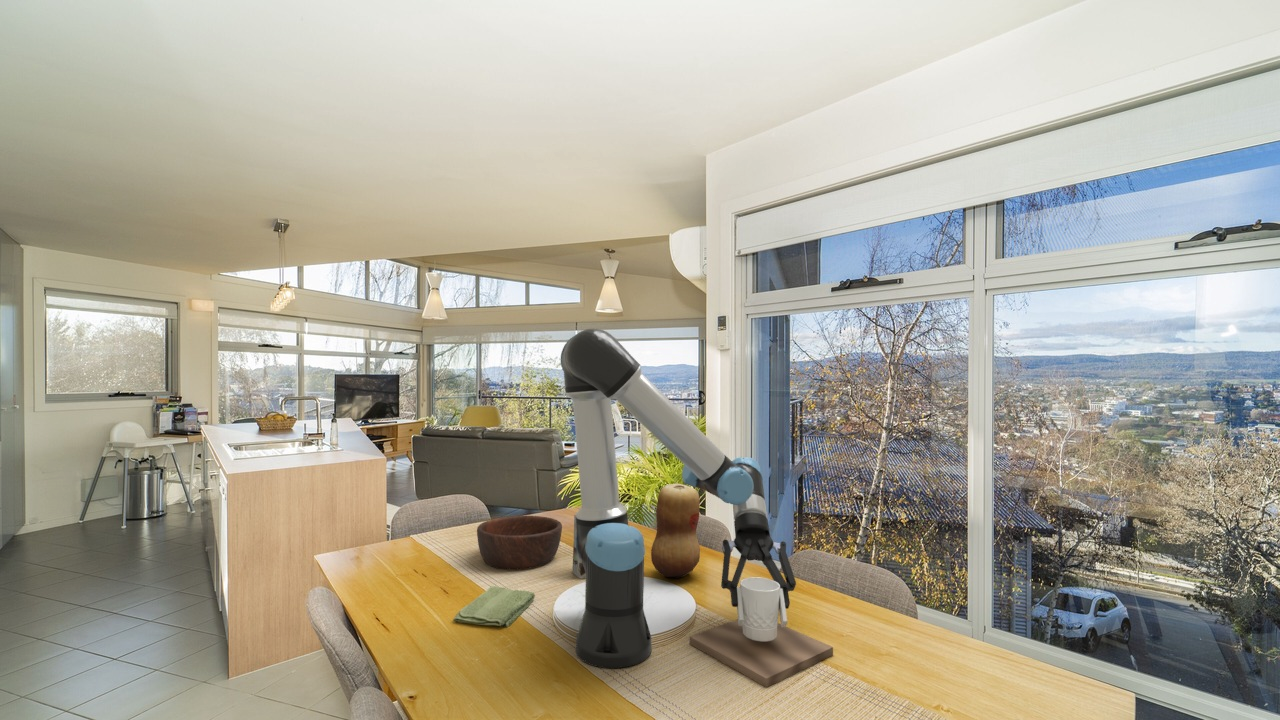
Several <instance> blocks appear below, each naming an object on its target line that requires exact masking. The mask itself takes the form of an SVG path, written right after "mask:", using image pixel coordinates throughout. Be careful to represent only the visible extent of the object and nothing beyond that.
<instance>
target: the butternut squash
mask: <svg viewBox="0 0 1280 720" xmlns="http://www.w3.org/2000/svg"><path fill="white" fill-rule="evenodd" d="M700 502H701V500H700V495H699V491H698V490H696V489H695V488H694V487H693V486H690V485H687V484H681V483H670V484H666V485H664V486H662V487H661V489H660V491H659V494H658V496H657V503H656V510H655V515H656V516H655V518H656V534H655V538H654V540H653V542H652V546H651V550H650V551H651V552H650V557H651V558H650V559H651V563H652V565H653V567H654V569H655V570H656V571H657V572H658V573H659V574H660V575H662V576H664V577H666V578H680V579H681V578H684V577H685V576H687V575H688V574H690V573H691V572H693V570H694V569H695V568H696V566H697V565H698V563H699V562H700V558H701V548H700V547H701V546H700V544H699V540H698V537H697V529H698V524H699V519H700V504H701V503H700Z"/></svg>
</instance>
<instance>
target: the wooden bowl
mask: <svg viewBox="0 0 1280 720" xmlns="http://www.w3.org/2000/svg"><path fill="white" fill-rule="evenodd" d="M562 530H563V525H562V522H561V521H559V520H557V519H555V518H551V517H547V516H539V515H513V516H511V515H510V516H503V517H502V516H501V517H497V518H493V519H489V520H487V521H484V522H482V523H480V524H479V525H478V526H477V528H476V536H477V543H478V544H477V545H478V549H479V553H480V555H481V557H482V560H483V561H484V563H486V564H487V565H488V566H490V567H492V568H495V569H500V570H509V571H510V570H527V569H528V570H529V569H533V568H538V567H541V566H544V565H547V564H548V563H550V562H551V561H552V560H553V559H554V557H555V556H556V554H557V551H558V549H559V546H560V542H561V538H562Z"/></svg>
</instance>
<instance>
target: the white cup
mask: <svg viewBox="0 0 1280 720" xmlns="http://www.w3.org/2000/svg"><path fill="white" fill-rule="evenodd" d="M739 587H740V588H741V594H742V606H743V617H744V621H743V634H744V635H745V636H746V637H747V638H749V639H752V640H756V641H763V642H764V641H771V640H774V639H775V638H776V637H777V623H779V617H780V613H779V599H780V585H779V583H777V582H776V581H774V580H773V579H770V578H766V577H759V576H758V577H757V576H753V577H752V576H750V577H746V578H743V579H741V580H739Z"/></svg>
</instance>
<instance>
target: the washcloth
mask: <svg viewBox="0 0 1280 720" xmlns="http://www.w3.org/2000/svg"><path fill="white" fill-rule="evenodd" d="M535 596H536V594H535V592H533V591H530V590H521V589H520V590H519V589H508V588H506V587H501V586H495V585H494V586H493V585H492V586H490V587H489V588H487V590H485V591H484V592H483V593H481V594H480V595H479V596H477V597H476V598H474V600H472V601H471V602H469V603H468V604H467V605H465V606H463V607H462V608H461V609H460V610H459V611H458V612H457V613H456V615H455V616H454V618H453V621H454V622H457V623H458V624H459V623H461V624H471V625H477V626H478V625H480V626H496V627H502V628H503V627H504V628H509V627H511V625H512V624H513V623H514V621H516V620H517V619H518V618H519V617H520V616H521V615H522V614H523V613H524V612H525V611H526V609H528V608H529V606H530V605H531V604H532V603H533V602H534V599H535V598H536V597H535Z"/></svg>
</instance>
